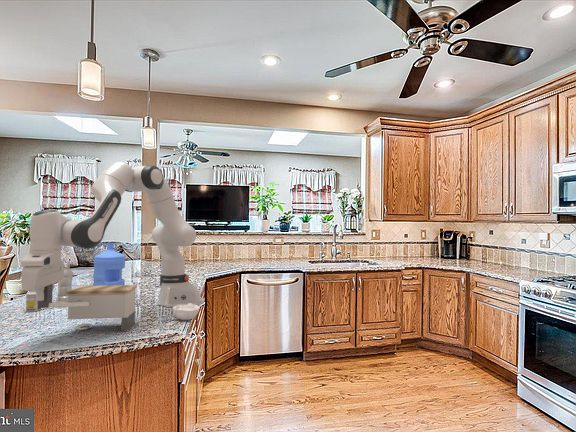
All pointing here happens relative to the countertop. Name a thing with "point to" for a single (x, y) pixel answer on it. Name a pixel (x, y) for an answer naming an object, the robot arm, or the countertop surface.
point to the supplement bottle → (32, 302)
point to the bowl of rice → (185, 311)
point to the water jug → (108, 267)
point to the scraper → (49, 303)
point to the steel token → (83, 327)
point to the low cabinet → (104, 303)
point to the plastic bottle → (65, 284)
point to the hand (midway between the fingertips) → (45, 298)
